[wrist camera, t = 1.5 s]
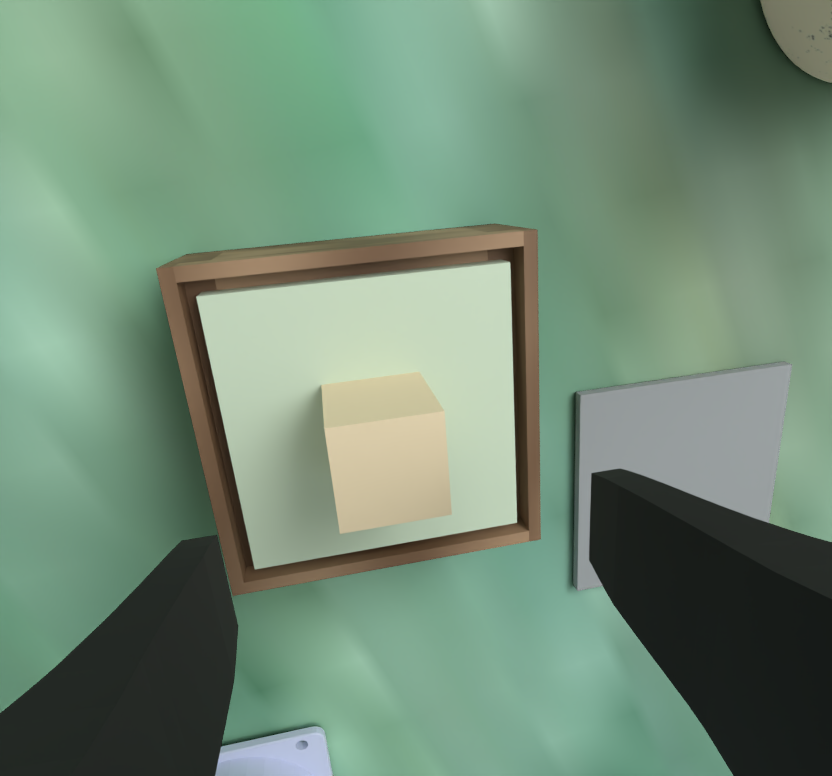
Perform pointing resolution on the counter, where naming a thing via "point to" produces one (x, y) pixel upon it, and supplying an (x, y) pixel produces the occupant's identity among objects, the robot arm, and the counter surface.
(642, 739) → the counter surface
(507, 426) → the lid
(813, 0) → the teacup with lid
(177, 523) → the counter surface
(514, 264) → the walnut box
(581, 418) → the rubber mat
